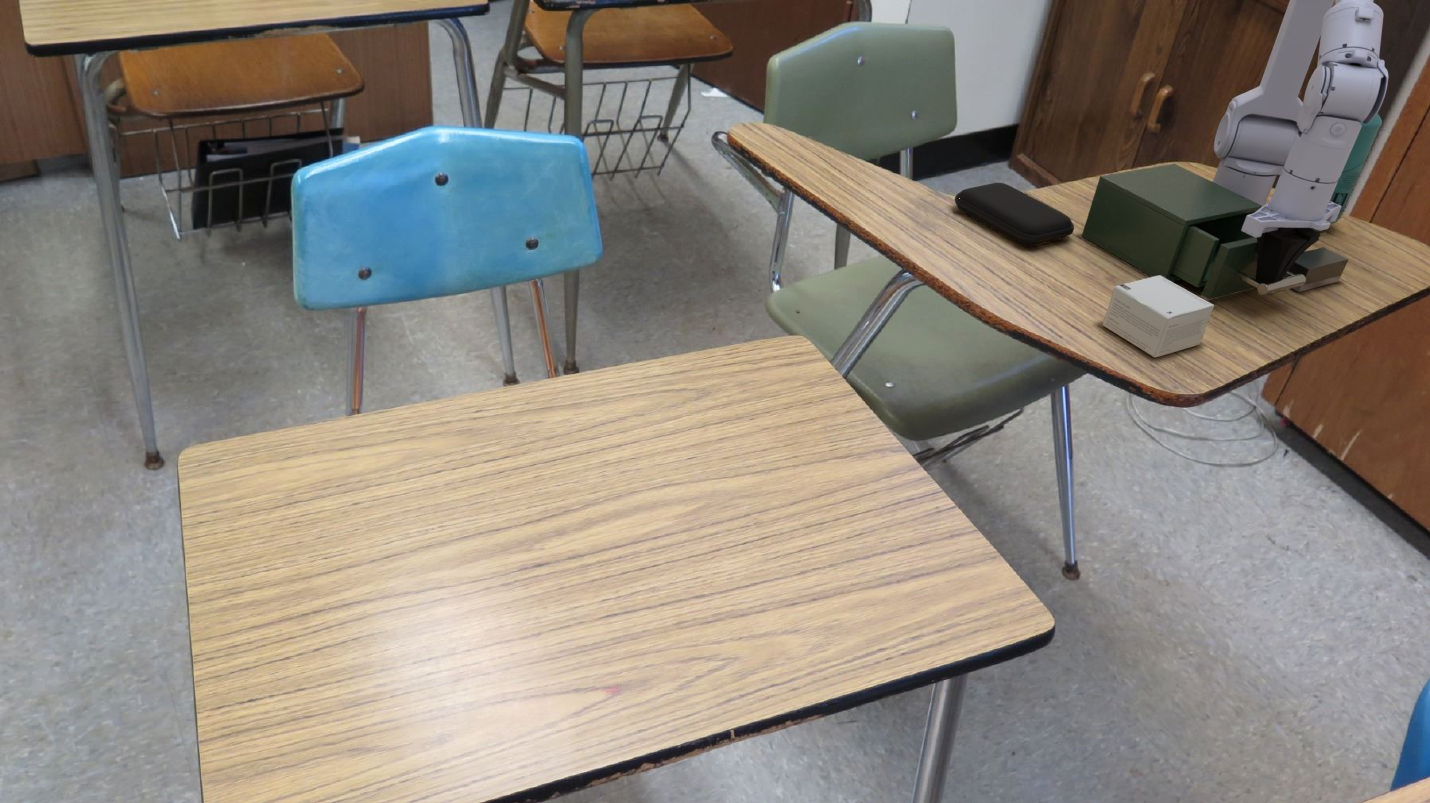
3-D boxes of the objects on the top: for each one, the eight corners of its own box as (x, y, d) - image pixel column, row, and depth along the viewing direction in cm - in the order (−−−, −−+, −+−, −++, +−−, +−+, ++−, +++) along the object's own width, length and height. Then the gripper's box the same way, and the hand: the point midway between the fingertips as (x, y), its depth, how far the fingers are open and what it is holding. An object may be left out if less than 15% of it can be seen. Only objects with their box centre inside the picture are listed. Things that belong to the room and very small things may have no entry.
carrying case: (1083, 239, 141) (1001, 195, 150) (1089, 217, 139) (1006, 175, 149) (1026, 254, 135) (945, 207, 145) (1032, 231, 134) (950, 186, 143)
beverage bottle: (1318, 237, 148) (1382, 94, 137) (1276, 218, 152) (1334, 77, 141) (1345, 229, 151) (1409, 89, 140) (1303, 211, 156) (1361, 73, 144)
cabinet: (1238, 266, 138) (1262, 205, 133) (1163, 283, 132) (1186, 220, 127) (1154, 221, 148) (1174, 163, 143) (1081, 236, 141) (1099, 175, 137)
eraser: (1313, 269, 139) (1323, 247, 137) (1338, 281, 137) (1348, 259, 135) (1273, 279, 136) (1283, 256, 134) (1298, 292, 133) (1308, 269, 131)
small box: (1201, 345, 119) (1217, 305, 117) (1153, 359, 116) (1168, 318, 113) (1146, 312, 125) (1161, 273, 122) (1099, 325, 121) (1112, 285, 118)
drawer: (1311, 300, 130) (1333, 249, 126) (1242, 318, 124) (1263, 266, 120) (1194, 238, 142) (1212, 190, 138) (1127, 252, 136) (1143, 203, 132)
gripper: (1301, 194, 114) (1254, 308, 121) (1382, 180, 120) (1333, 288, 128) (1245, 170, 119) (1203, 280, 126) (1326, 157, 125) (1282, 263, 133)
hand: (1265, 283), depth 127 cm, fingers closed, pressing on drawer
